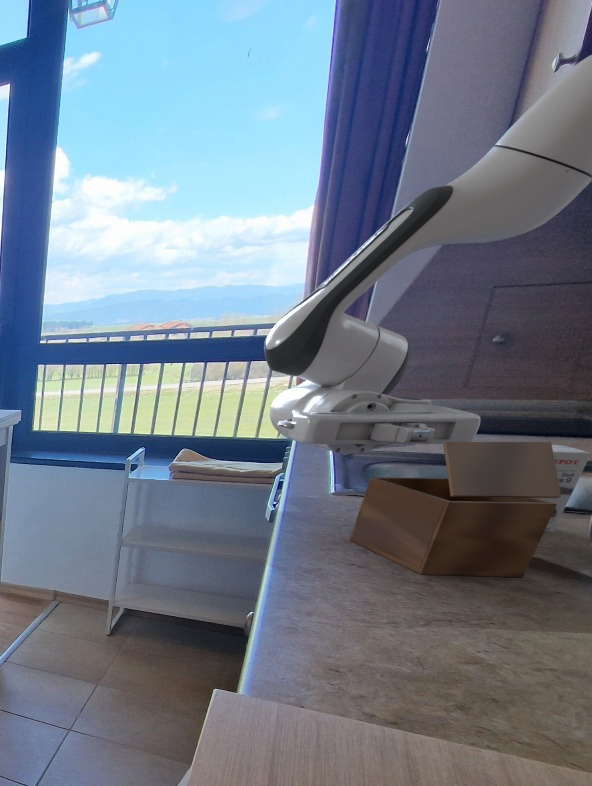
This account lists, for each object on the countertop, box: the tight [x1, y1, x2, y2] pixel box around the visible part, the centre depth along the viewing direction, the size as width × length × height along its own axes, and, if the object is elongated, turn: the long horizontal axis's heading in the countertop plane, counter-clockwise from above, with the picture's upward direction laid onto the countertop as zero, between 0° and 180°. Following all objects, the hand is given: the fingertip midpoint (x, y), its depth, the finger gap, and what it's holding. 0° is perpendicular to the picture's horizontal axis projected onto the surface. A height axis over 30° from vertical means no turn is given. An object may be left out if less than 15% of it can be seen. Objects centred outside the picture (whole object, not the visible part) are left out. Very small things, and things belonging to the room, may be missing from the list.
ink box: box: [537, 444, 592, 533], centre depth 81 cm, size 9×5×12 cm, turn 68°
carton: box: [348, 476, 557, 578], centre depth 75 cm, size 10×13×8 cm
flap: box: [442, 441, 561, 498], centre depth 68 cm, size 10×6×1 cm
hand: (420, 436), depth 79 cm, fingers closed
